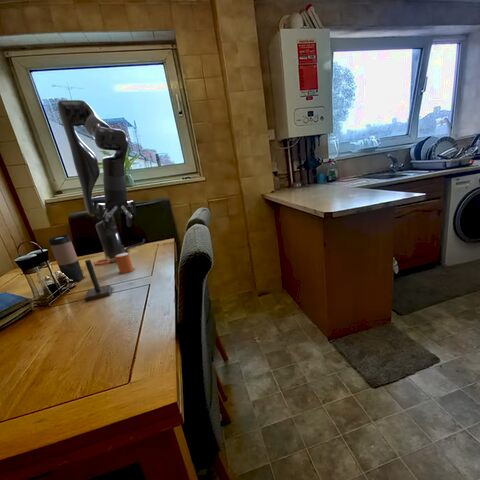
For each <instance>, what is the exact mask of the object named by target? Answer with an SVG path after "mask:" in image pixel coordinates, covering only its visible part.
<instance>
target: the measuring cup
mask: <svg viewBox="0 0 480 480" xmlns="http://www.w3.org/2000/svg"><path fill="white" fill-rule="evenodd" d="M113 260H116V261H117V262H116V264H117V267H118V270H119V273H120V274H127V273H131V272H133V271H134V267H133V263H132V259H131V256H130V253H129V252H128V253H125V252H124V253H121V254H118V255H116V256H115V258H112V259H106V258H103V259H98V260H97V261H95V262H93V265H94V266H95V267H100V266H105V265H107V264H109V263H111V262H110V261H113Z"/></svg>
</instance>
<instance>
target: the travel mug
mask: <svg viewBox="0 0 480 480" xmlns="http://www.w3.org/2000/svg"><path fill="white" fill-rule="evenodd" d="M48 243H49V245H50V247H51V251H52V254H53V256H54V258H55V261H56V264H57V266H58V268H59V270H60V273H61V272H62V273H64V274H65V275H66V276H67V277H68V278H69V279H73V281H70V282H69V283H68V284H73V283H76V282H80V281H82V280H83V279H84V278H85V277H84V273H83V271H82V267H81V264H80V261H79V259H78V255H77V253H76V251H75V248H74V245H73V243H72V240H71V238H70V235H69V234H63V235H58V236H57V235H56V236H53V237H50V238H49V239H48ZM62 273H61V274H62Z"/></svg>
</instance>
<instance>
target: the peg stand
mask: <svg viewBox="0 0 480 480" xmlns="http://www.w3.org/2000/svg"><path fill="white" fill-rule="evenodd" d="M84 263H85V266H86V268H87V272H88V275H89V277H90V280H91V282H92V286H93V288H90V289H88V290H87V292H86V294H85V297H84V299H85V302H89V301H94V300H97V299H101V298H105V297H109V296H111V292H112V289H113V288H112V285H111V284H107V285H103V286H100V284H99V283H100V282H99V281H98V277H97V275H96V272H95V268H94V266H93V263H92V261H91V259H86V260H84Z"/></svg>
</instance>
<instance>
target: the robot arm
mask: <svg viewBox="0 0 480 480" xmlns="http://www.w3.org/2000/svg"><path fill="white" fill-rule="evenodd" d="M57 111H58V114H59V118H60V120H61V123H62V127H63V129H64V132H65V135H66V138H67V142H68V144H69V148H70V152H71V157H72V161H73V164H74V167H75V172H76V174H77V178H78V180H79V183H80V187H81V188H80V189H81V192H82V196H83V197H82V198H83V201H84V207H85V209H86V212H87V215H89V217H96V219H98V220H99V222H97V223H96V224H95V229H96V232H97V235H98V238H99V242H100V244H101V248H102V251H103V253H104V257H105V258H104V259H112V258H115V256H116V255H118V254H121V253H129V251H128V250H129V249H131V248H134V247H138V246H141V245H143V244H145V242H146V239H145V238H142V242H140V243H136V244H132V245H129V246H127V247H125V246H124V245H123V244H122V240H121V237H120V233H119V230H118V226H117V223H116V220H115V216H114V215H118V214H121V215H122V214H124V215H126V217H125V219H126V227H128V228H130V227H132V226H133V217H136V216H137V215H138V214H137V205H136V204H137V203H136V201H134V200H132V199H130V200H129V201H128V193H127V192H128V190H127V186H128V185H127V180H126V171H125V169H126V168H125V163H126V156H127V154H128V153H127V152H128V149H129V144H130V143H129V137H128V135H127V133H126V132H125V131H124V130H123V129H120V128H119V129H118V128H112V127H111V126H110V125H109V124H107V123H106V122H105V121H104V120H102V119H101V118H100V117H99V116H98V115H97V113H96V111H94V109H93V108H92V107H91V105H90V104H89V103H88V102H86V101H84V100H81V99H62V100H59V101H57ZM75 127H84V129H85V131H86V132H87V133H88V135H89V136H91V137H92V138H93V139H94V143H95V145H96V147H97V148H98V149H100V150H104V151H114V153H113V155H110V156H105V157H103V158H102V160H101V164H102V172H103V174H102V175H103V177H102V179H103V180H102V183H103V192H104V193H103V194H104V195H98V196H93V190H94V187H95V185H96V183H97V181H98V179H99V177H100V173H101V171H100V170H101V169H100V166H99V165H100V164H99V161H98V157H97V155H96V154H95V153H94V151H93V150H92V149H91V148H90V147H88V145H86V143H84V141H83V140H82V139H81V138H80V137H79V135H78V133H77V131H76V129H75ZM128 206H129V210H130V211H129V210H128V209H127V208H128ZM109 263H117V261H116V260H113V261H110V262H109Z"/></svg>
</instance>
